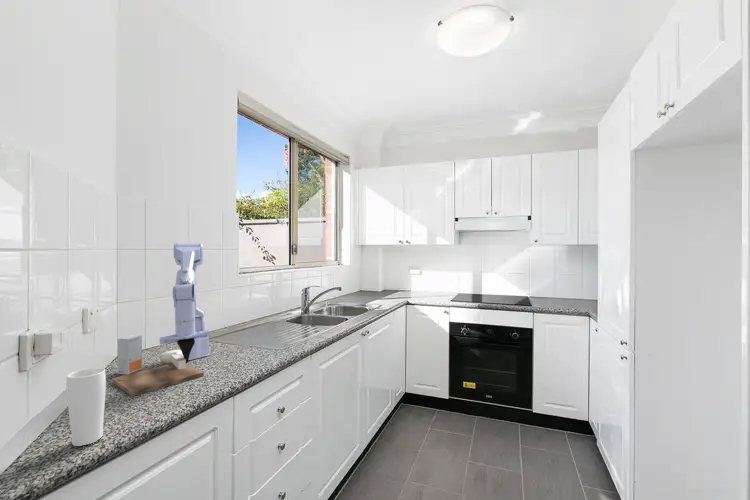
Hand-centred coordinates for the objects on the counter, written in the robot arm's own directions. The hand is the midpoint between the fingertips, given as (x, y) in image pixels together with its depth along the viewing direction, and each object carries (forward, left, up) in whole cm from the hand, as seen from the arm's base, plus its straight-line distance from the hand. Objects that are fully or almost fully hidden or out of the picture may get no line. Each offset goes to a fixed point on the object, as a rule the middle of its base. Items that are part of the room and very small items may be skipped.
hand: (186, 362), depth 119 cm
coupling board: (+6, -5, -5) cm, 9 cm away
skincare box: (+10, -21, -5) cm, 24 cm away
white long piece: (+1, -5, -1) cm, 6 cm away
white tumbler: (+31, +25, -5) cm, 40 cm away
